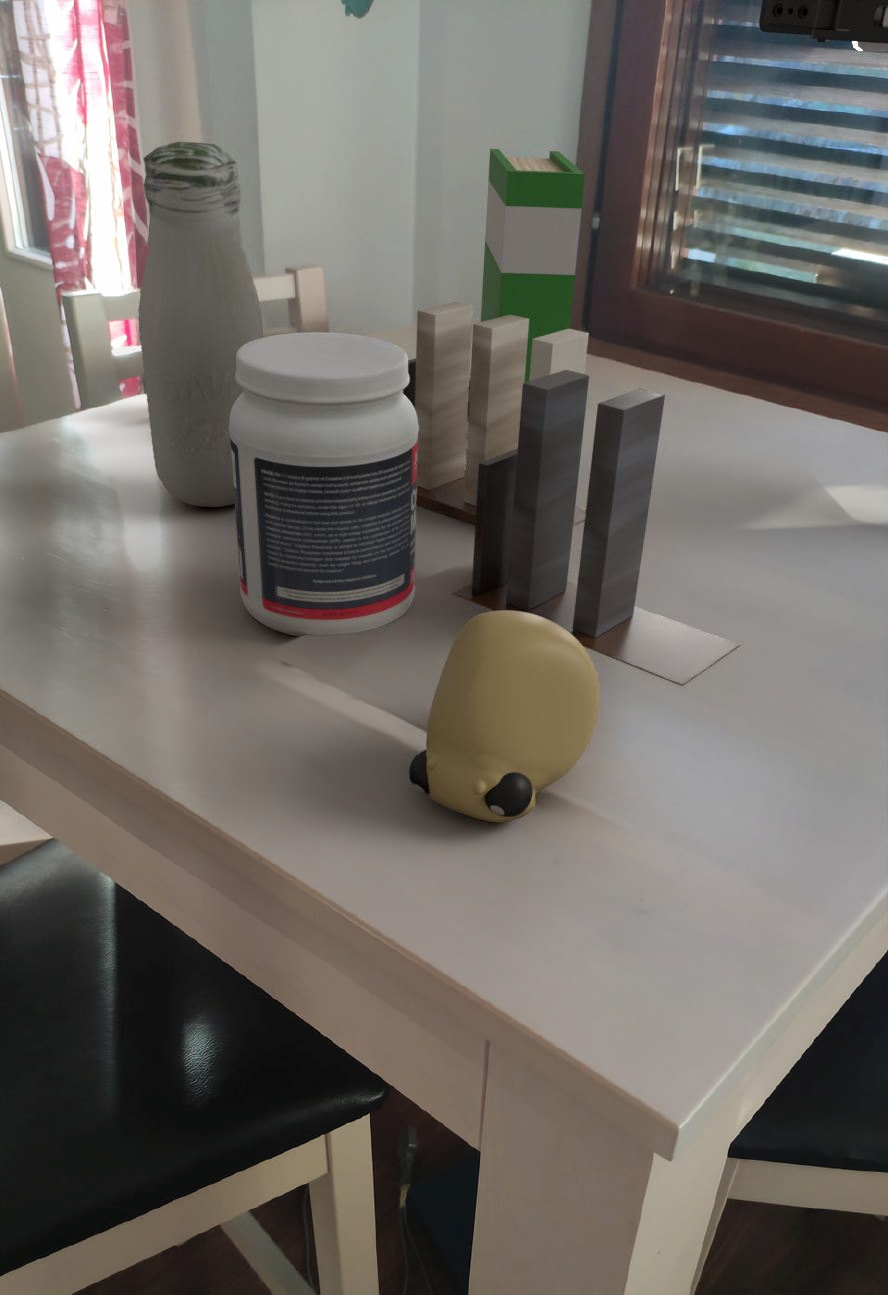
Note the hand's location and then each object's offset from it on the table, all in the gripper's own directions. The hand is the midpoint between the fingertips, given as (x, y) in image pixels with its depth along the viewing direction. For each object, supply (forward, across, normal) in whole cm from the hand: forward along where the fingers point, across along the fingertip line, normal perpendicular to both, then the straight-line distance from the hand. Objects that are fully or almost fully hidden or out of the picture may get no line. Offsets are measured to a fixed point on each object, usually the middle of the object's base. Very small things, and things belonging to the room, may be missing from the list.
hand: (796, 10), depth 72 cm
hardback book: (+40, -28, +38) cm, 62 cm away
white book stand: (+22, 0, +38) cm, 44 cm away
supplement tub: (+17, +24, +38) cm, 49 cm away
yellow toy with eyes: (-6, +34, +38) cm, 51 cm away
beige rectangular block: (+15, 0, +37) cm, 40 cm away
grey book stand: (+1, +14, +38) cm, 40 cm away
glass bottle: (+39, +16, +38) cm, 57 cm away
